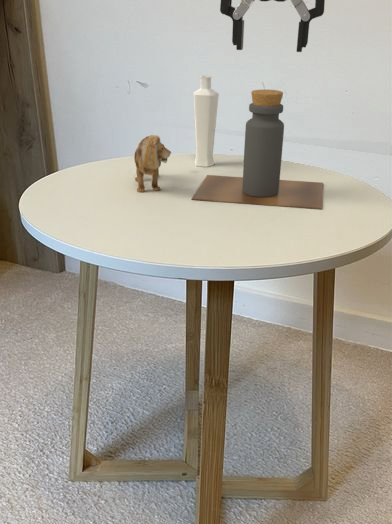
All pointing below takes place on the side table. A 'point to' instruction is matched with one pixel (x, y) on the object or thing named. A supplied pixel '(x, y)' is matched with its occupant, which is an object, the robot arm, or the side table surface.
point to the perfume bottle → (205, 121)
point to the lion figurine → (150, 160)
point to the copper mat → (288, 196)
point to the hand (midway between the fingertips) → (269, 50)
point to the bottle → (263, 144)
